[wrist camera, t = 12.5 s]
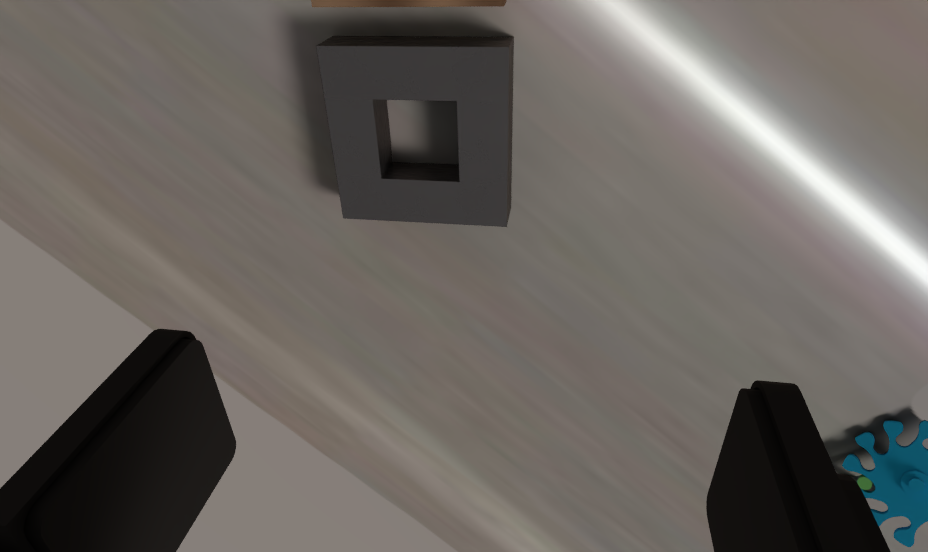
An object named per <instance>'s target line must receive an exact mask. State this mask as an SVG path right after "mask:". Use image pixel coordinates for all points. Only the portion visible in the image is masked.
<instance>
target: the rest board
mask: <svg viewBox="0 0 928 552" xmlns="http://www.w3.org/2000/svg"><path fill="white" fill-rule="evenodd" d="M311 2H312V7H447V6H504V5H505V3H506V0H311Z"/></svg>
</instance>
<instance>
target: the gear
mask: <svg viewBox="0 0 928 552" xmlns="http://www.w3.org/2000/svg"><path fill="white" fill-rule="evenodd" d="M883 427H884V430H885V431H886V432H887V434H888V437H889V441H890V444H889V450H888V452H887V453H884V454H880V453H878V452H876V451H875V450H874V441H875V438H874V436H873V434H872V433H871V432H864V433H862V434H860V435H858V436H856V438H855V440H856V442H857V444H858V445H860V446H861V447H863V448H864V449H866V450H867V451H868V452H869V453H870V455H871V456H872V458H873V460H874V463H875V468H874V469H873V470H867V469H865V468H863V466H862V465H861V462H860V460H859V458H858V457H857V456H856V455H854V454H849V455H848V456H847V457H846V459H845V460H844V462H843V465H842V466H843V467H844V468H845V469H846V470H848V471H854V472H858V473H860V474H862V475H860V476H854V477H852V478H853V479H854V480H855V481H856V482H857V484H858V485H859V487H860V488H861V490H862V492H863V494H864V496H865V498H873V499H877V500H879V501H882V502H884V503H886V504H887V506H888V510H887V511H885V512H880V511H877V510H874V509H871V511H872V513H873V515H874V518H875V520H876V522H877V524H878V526H880V525H881V524H882V522H883V521H885V520H886V519H888V518H891V517H896V516H904V517H907V518H908V519H909V520H910V521H911V525H910V526H908V527H901V528H897V529H896V530H895V532H894V538H895V539H896V540H897V541H899V542H900V543H902V544H903V545H905V546H907V547H911V546H912V545H913V544H914V535H915V532H916V530H917V529H918V527H919V526H921V525H922V524H923V523H925V522H927V521H928V449H926V448H925V447H924V446H923V445H922V442H923V440H924V439H926V438H928V421H926V420H923V421H921V422H920V424H919V433H918V436H917V438H916V439H915V440H914V441H913V442H912V443H911V444H910V445H908V446H901V445H899V444H898V443H897V442H896V437H897V436H898V435H899V434H900V433H901V432H902V431H903V424H902V422H900V421H895V420H888V421H885V422H884V425H883Z"/></svg>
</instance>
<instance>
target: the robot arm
mask: <svg viewBox="0 0 928 552" xmlns="http://www.w3.org/2000/svg"><path fill="white" fill-rule="evenodd" d="M235 449H236V440H235V437H234V434H233V431H232V428H231V425H230V422H229V419H228V416H227V414H226V411H225V408H224V405H223V402H222V399H221V396H220V393H219V390H218V387H217V384H216V382H215V379H214V376H213V373H212V370H211V367H210V364H209V361H208V358H207V356H206V353H205V350H204V347H203V345H202V343H201V342H200V341H199V340H196V338H195V336H194V335H193V334H192V333H191V332H188V331H179V330H168V329H157V330H154V331H153V332H152V333H151V334H149V335H148V337H147V338H146V339H145V340H144V341H143V342H142V343H141V344H140V345H139V346H138V347H137V348H136V349H135V350H134V351H133V352H132V353H131V354H130V355H129V356H128V357H127V358H126V359H125V360H124V361H123V362H122V363H121V364H120V366H119V367H117V369H116V370H115V371H114V372H113V373H112V374H111V375H110V376H109V377H108V378H107V379H106V380H105V381H104V382H103V383H102V384H101V385H100V386H99V387H98V388H97V389H96V390H95V391H94V392H93V393H92V394H91V395H90V396H89V398H88V399H87V400H86V401H85V402H84V403H83V404H82V405H81V406H80V407H79V408H78V409H77V410H76V411H75V412H74V413H73V414H72V415H71V416H70V417H69V418H68V419H67V420H66V421H65V422H64V423H63V424H62V426H60V427H59V429H58V430H57V431H56V432H55V433H54V434H53V435H52V436H51V437H50V438H49V439H48V440H47V441H46V442H45V443H44V444H43V445H42V446H41V447H40V448H39V449H38V450H37V451H36V452H35V453H34V454H33V455H32V457H30V458H29V460H28V461H27V462H26V463H25V464H24V465H23V466H22V467H21V468H20V469H19V470H18V471H17V472H16V473H15V474H14V475H13V476H12V477H11V478H10V479H9V480H8V481H7V482H6V483H5V484H4V485H3V486H2V487H1V489H0V552H176V550H177V549H178V548H179V546H180V544H181V543H182V541H183V539H184V538H185V536H186V534H187V533H188V531H189V529H190V528H191V526H192V525H193V523H194V521H195V520H196V518H197V516H198V515H199V513H200V511H201V510H202V508H203V507H204V505H205V503H206V501H207V500H208V498H209V497H210V495H211V493H212V492H213V490H214V489H215V487H216V485H217V484H218V482H219V480H220V479H221V477H222V475H223V474H224V472H225V471H226V469H227V467H228V466H229V464H230V462H231V461H232V458H233V457H234V454H235ZM707 517H708V523H709V528H710V533H711V538H712V542H713V547H714V552H890V550H889V548H888V545H887V543H886V541H885V539H884V537H883V535H882V533H881V530H880V528H879V526H878V524H877V522H876V520H875V518H874V515H873V513H872V511H871V509H870V507H869V505H868V503H867V500H866V498H865V496H864V494H863V492H862V490H861V488H860V487H859V485H858V484H857V482H856V481H855V480H854V479H853V478H852V477H851V476H849V475H845V474H838V473H836V471H835V469H834V466H833V464H832V462H831V460H830V457H829V455H828V453H827V450H826V448H825V446H824V444H823V441H822V439H821V437H820V434H819V432H818V430H817V428H816V425H815V423H814V421H813V418H812V416H811V414H810V412H809V409H808V407H807V405H806V402H805V400H804V398H803V396H802V393H801V391H800V389H799V388H798V386H797V385H795V384H792V383H780V382H769V381H755V382H754V383H753V384H752V386H751V389H744V388H743V389H741V390H740V391H739V394H738V396H737V400H736V403H735V406H734V409H733V413H732V416H731V419H730V423H729V426H728V429H727V432H726V436H725V439H724V442H723V445H722V449H721V452H720V455H719V459H718V462H717V465H716V468H715V472H714V475H713V478H712V481H711V485H710V488H709V491H708V495H707Z"/></svg>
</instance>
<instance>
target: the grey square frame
mask: <svg viewBox="0 0 928 552" xmlns="http://www.w3.org/2000/svg"><path fill="white" fill-rule="evenodd" d="M316 47H317V54H318V60H319V67H320V73H321V79H322V86H323V92H324V99H325V105H326V111H327V118H328V124H329V131H330V137H331V143H332V150H333V156H334V163H335V169H336V175H337V182H338V188H339V195H340V201H341V207H342V214H343V218H348V219H367V220H386V221H405V222H424V223H443V224H462V225H482V226H501V227H507V223H508V219H509V214H510V210H511V173H512V111H513V50H514V37H458V36H332V37H331V38H329V39H327V40H325V41H324V42H322V43H320V44H319V45H317V46H316ZM387 100H428V101H457V123H458V152H459V165H453V164H426V163H399V162H393V159H392V149H391V139H390V129H389V119H388V109H387Z"/></svg>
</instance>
